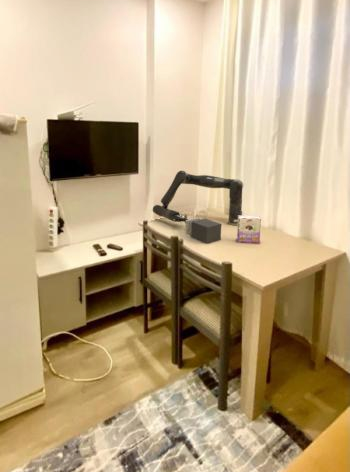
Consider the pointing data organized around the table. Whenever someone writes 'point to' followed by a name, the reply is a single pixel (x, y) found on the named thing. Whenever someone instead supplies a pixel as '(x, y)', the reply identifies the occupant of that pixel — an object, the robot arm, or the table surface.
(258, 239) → the candy box
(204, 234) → the dark grey rectangular block
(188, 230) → the drawer
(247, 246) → the table surface
